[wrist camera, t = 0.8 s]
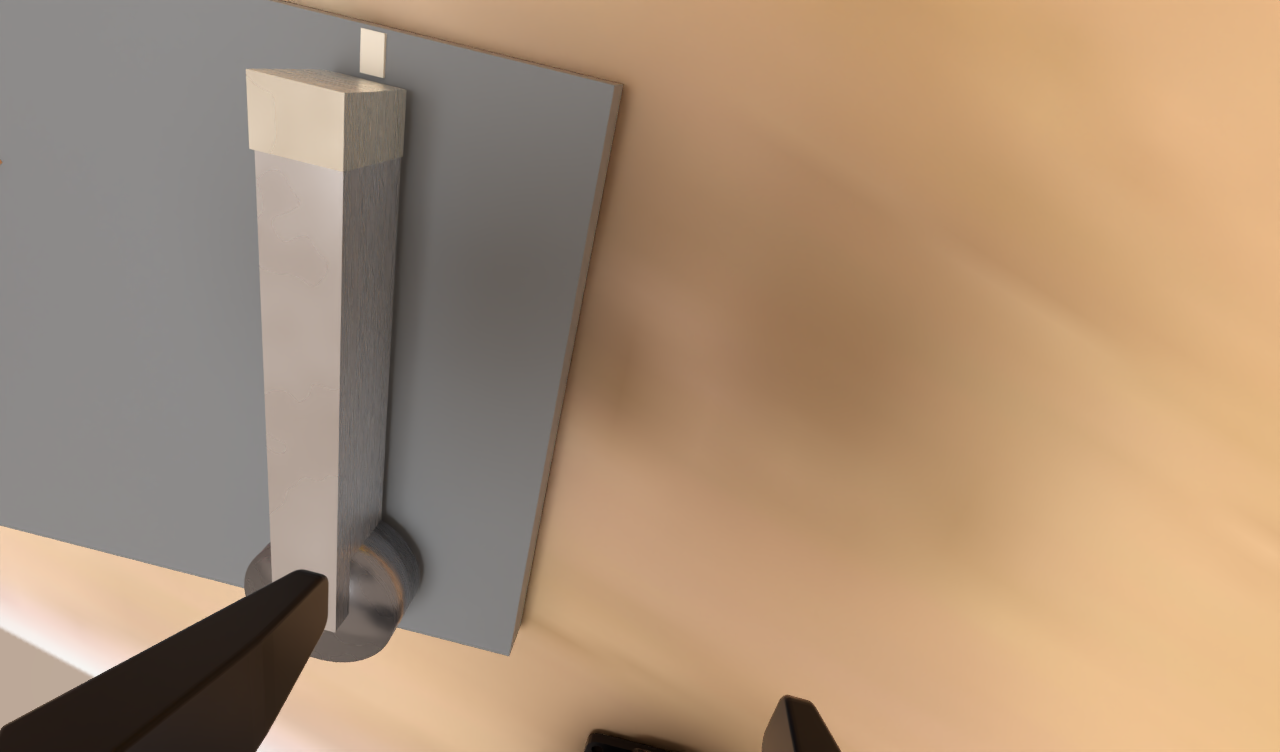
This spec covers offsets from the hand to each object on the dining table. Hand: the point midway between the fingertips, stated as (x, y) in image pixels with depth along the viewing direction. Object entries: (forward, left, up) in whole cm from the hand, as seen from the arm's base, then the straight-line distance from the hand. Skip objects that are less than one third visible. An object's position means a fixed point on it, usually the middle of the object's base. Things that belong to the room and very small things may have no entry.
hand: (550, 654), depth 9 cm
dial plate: (-3, +12, -12) cm, 17 cm away
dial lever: (-3, +8, -10) cm, 13 cm away
